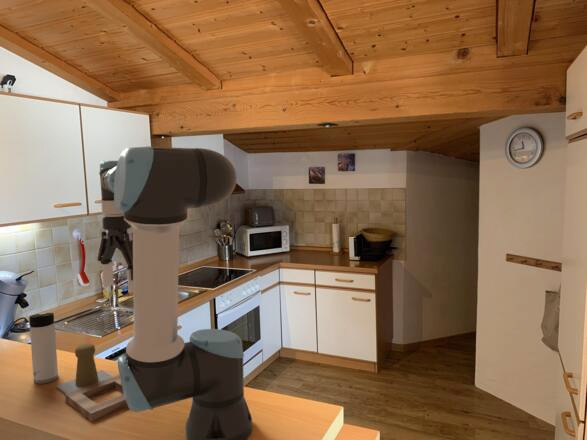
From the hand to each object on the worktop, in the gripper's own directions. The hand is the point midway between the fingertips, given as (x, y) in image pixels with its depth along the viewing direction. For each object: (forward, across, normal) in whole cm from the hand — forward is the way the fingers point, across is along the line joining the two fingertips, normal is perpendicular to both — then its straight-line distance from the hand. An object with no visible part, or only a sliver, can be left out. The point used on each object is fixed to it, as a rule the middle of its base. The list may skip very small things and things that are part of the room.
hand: (120, 288), depth 126 cm
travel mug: (+27, +18, +15) cm, 35 cm away
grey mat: (+27, +5, +9) cm, 29 cm away
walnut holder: (+27, -8, +10) cm, 30 cm away
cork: (+26, +5, +9) cm, 28 cm away
